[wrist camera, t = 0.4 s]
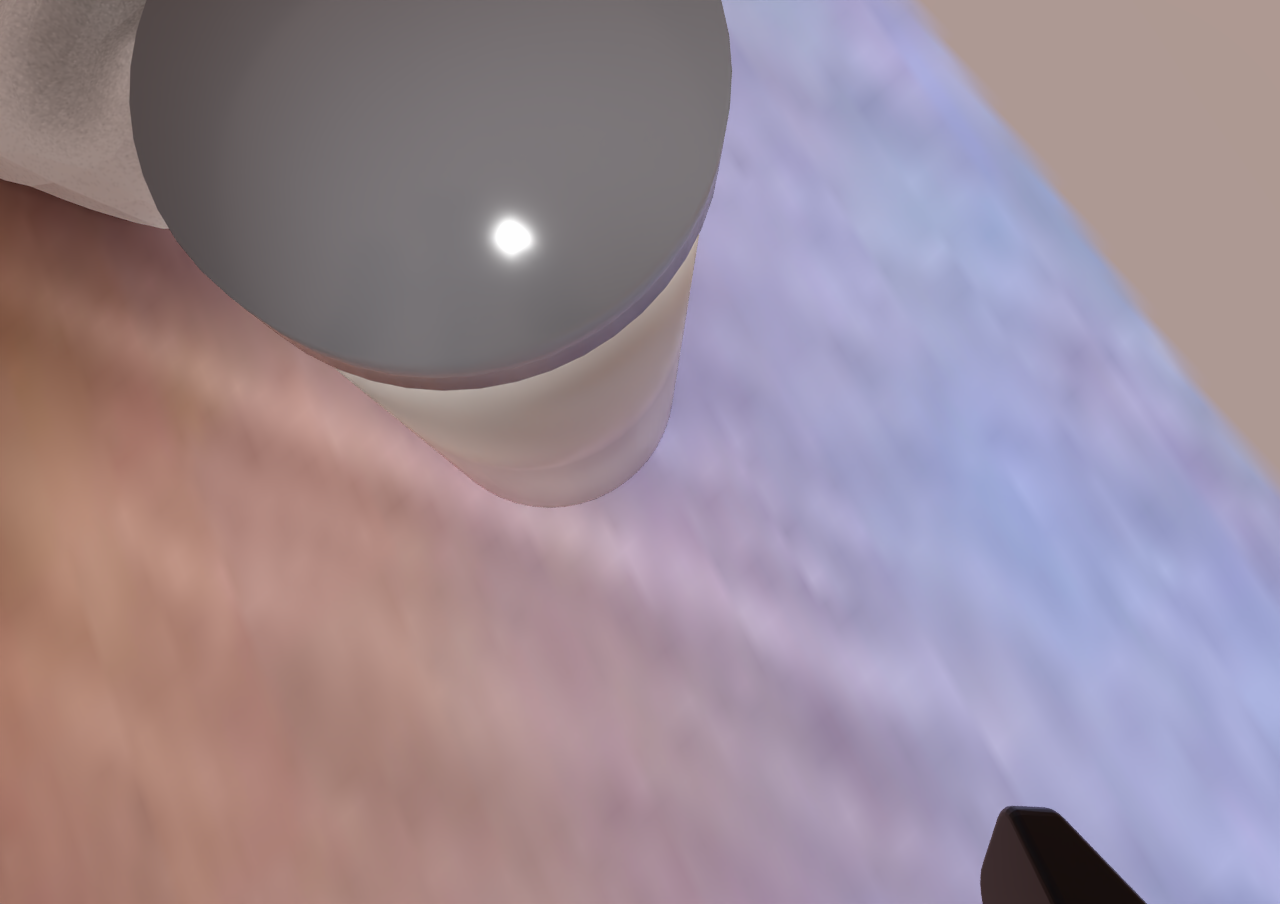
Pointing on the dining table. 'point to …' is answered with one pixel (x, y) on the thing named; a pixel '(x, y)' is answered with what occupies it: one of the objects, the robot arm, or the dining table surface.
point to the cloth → (72, 104)
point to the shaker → (453, 206)
